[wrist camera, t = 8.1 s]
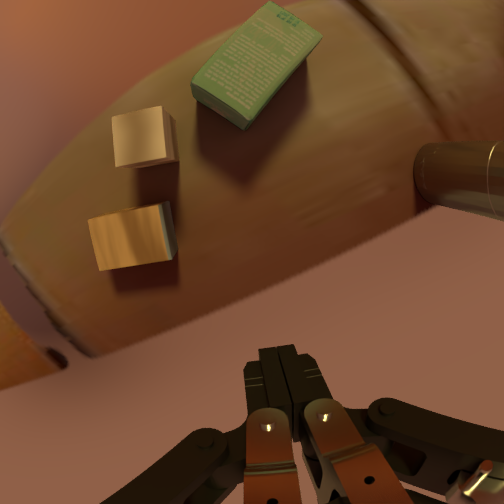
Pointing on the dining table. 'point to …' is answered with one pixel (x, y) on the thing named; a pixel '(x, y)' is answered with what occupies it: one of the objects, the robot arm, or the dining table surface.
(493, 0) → the dining table surface
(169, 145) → the birch pillar
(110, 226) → the oak pillar
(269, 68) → the box
